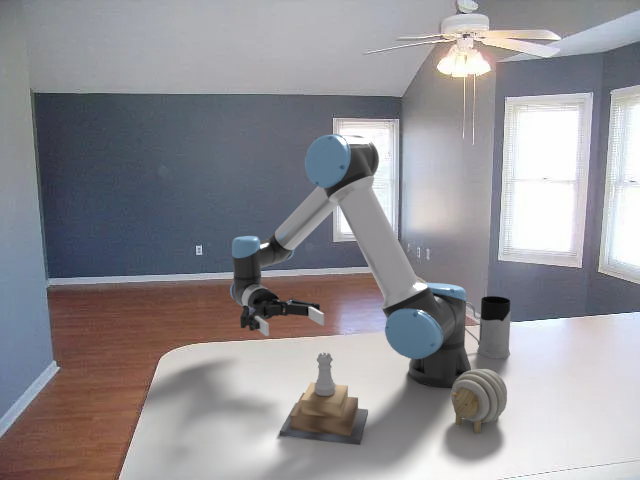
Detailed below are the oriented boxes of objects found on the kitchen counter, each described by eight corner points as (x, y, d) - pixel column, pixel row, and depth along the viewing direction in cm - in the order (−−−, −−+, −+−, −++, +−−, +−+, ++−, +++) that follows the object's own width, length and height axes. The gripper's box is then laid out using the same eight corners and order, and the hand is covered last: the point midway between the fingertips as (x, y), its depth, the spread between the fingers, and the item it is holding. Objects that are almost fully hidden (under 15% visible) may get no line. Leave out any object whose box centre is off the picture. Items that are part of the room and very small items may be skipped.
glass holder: (510, 359, 137) (513, 305, 134) (455, 354, 141) (457, 301, 139) (509, 348, 145) (512, 296, 142) (458, 342, 149) (459, 293, 147)
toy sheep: (435, 429, 103) (436, 377, 101) (473, 398, 115) (474, 352, 113) (486, 448, 96) (488, 393, 94) (520, 414, 108) (522, 364, 107)
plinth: (368, 413, 109) (368, 382, 108) (359, 444, 98) (359, 410, 97) (295, 406, 113) (295, 376, 112) (279, 435, 101) (278, 402, 100)
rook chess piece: (334, 398, 102) (333, 360, 100) (312, 396, 103) (311, 358, 101) (337, 388, 106) (337, 351, 105) (316, 386, 107) (315, 350, 106)
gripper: (304, 308, 139) (344, 330, 120) (214, 324, 127) (242, 351, 109) (303, 281, 137) (343, 299, 119) (212, 294, 126) (241, 317, 107)
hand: (295, 324), depth 114 cm, fingers open, 13 cm apart
